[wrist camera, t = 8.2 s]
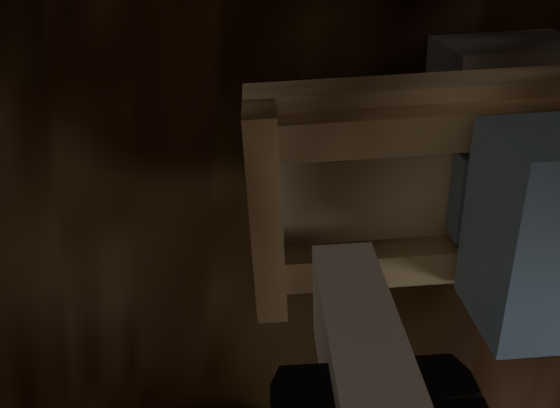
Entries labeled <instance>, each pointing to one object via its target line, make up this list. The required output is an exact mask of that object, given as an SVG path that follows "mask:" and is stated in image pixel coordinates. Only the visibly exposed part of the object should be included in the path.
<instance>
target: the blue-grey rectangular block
mask: <svg viewBox="0 0 560 408" xmlns="http://www.w3.org/2000/svg"><path fill="white" fill-rule="evenodd" d="M445 230H446V231H447V233H448V234H449V236H450V237H451V239H452V240H453V242H454V243H455V244H459V247H458V255H457V263H456V271H455V279H454V288H455V290H456V292H457V293H458V295H459V297H460V299H461V300H462V302H463V304H464V306H465V307H466V309H467V311H468V312H469V314H470V316H471V318H472V319H473V321H474V323H475V325H476V326H477V328H478V330H479V332H480V333H481V335H482V337H483V338H484V340H485V342H486V344H487V345H488V347H489V349H490V351H491V352H492V354H493V356H494V358H495V359H496V360H504V359H517V358H531V357H545V356H559V355H560V111H555V112H539V113H523V114H507V115H490V116H475V117H474V125H473V133H472V142H471V150H470V153H455V154H453V163H452V172H451V181H450V190H449V200H448V209H447V218H446V227H445Z"/></svg>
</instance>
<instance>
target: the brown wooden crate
mask: <svg viewBox="0 0 560 408" xmlns="http://www.w3.org/2000/svg"><path fill="white" fill-rule="evenodd" d="M555 111H560V31H557V30H554V29H551V28H548V29H530V30H513V31H496V32H479V33H461V34H444V35H428V45H427V58H426V71H425V73H412V74H395V75H378V76H361V77H345V78H328V79H311V80H294V81H278V82H261V83H244V84H243V86H242V107H241V129H242V140H243V152H244V164H245V176H246V188H247V200H248V212H249V224H250V236H251V248H252V260H253V272H254V284H255V295H256V307H257V319H258V324H259V323H273V322H287V321H288V312H287V295H288V294H302V293H313V274H312V246H316V245H333V244H350V243H366V242H371V243H372V245H373V248H374V250H375V253H376V256H377V258H378V261H379V264H380V266H381V269H382V272H383V274H384V277H385V280H386V282H387V285H388V287H404V286H418V285H433V284H447V283H454V279H455V271H456V263H457V255H458V247H459V244H455V243H454V242H453V240H452V239H451V237H450V236H449V234H448V233H447V231H446V230H445V227H446V218H447V209H448V200H449V190H450V181H451V172H452V163H453V154H455V153H470V150H471V142H472V133H473V125H474V117H475V116H490V115H507V114H523V113H539V112H555Z"/></svg>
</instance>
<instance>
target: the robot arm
mask: <svg viewBox="0 0 560 408" xmlns="http://www.w3.org/2000/svg"><path fill="white" fill-rule="evenodd" d="M312 274H313V317H314V336H315V343H316V350H317V357H318V363H317V364H301V365H285V366H279V368H278V370H277V372H276V374H275V376H274V378H273V380H272V382H271V384H270V405H271V408H489V407H488V405H487V403H486V401H485V399H484V397H482V395H481V391H480V389H479V387H478V385H477V383H476V381H475V379H474V377H473V375H472V373H471V371H470V370H469V369H468V368H467V367H466V366H465V365H463V364H462V363H461V362H460V361H459V360H458V359H457V358H456V357H455V356H454V355H453V354H436V355H420V356H414V353H413V351H412V348H411V346H410V343H409V340H408V338H407V335H406V332H405V330H404V327H403V324H402V322H401V319H400V317H399V314H398V311H397V309H396V306H395V303H394V301H393V298H392V295H391V293H390V290H389V287H388V285H387V282H386V280H385V277H384V274H383V272H382V269H381V266H380V264H379V261H378V258H377V256H376V253H375V250H374V248H373V245H372V243H371V242H366V243H350V244H333V245H316V246H312Z"/></svg>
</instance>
